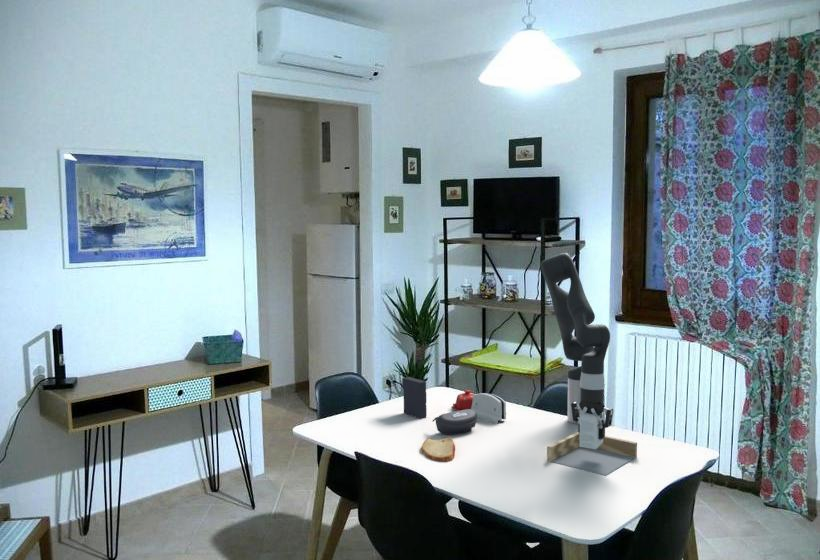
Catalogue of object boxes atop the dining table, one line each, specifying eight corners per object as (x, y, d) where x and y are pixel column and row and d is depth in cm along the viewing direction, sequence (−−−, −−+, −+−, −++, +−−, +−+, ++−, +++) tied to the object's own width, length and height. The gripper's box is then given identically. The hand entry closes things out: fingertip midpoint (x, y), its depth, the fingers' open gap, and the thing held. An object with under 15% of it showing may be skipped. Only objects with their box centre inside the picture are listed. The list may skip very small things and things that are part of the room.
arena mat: (582, 446, 239) (582, 445, 239) (634, 458, 226) (634, 457, 226) (551, 462, 223) (551, 461, 223) (605, 476, 210) (605, 475, 210)
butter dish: (483, 413, 283) (483, 392, 282) (455, 414, 282) (455, 393, 281) (478, 405, 294) (478, 386, 293) (452, 406, 293) (451, 387, 293)
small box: (586, 440, 228) (587, 409, 227) (603, 443, 225) (604, 411, 224) (578, 446, 222) (579, 414, 221) (595, 449, 219) (596, 417, 218)
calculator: (427, 417, 275) (427, 381, 274) (419, 419, 273) (419, 382, 272) (410, 412, 284) (410, 376, 283) (402, 414, 281) (402, 377, 280)
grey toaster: (468, 414, 280) (470, 390, 279) (476, 414, 282) (478, 389, 282) (497, 424, 266) (499, 398, 266) (506, 423, 269) (508, 397, 269)
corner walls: (580, 444, 241) (580, 430, 240) (636, 457, 227) (637, 442, 227) (546, 461, 224) (547, 446, 224) (605, 476, 210) (606, 460, 210)
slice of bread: (445, 466, 222) (445, 454, 221) (404, 454, 234) (404, 443, 233) (478, 452, 235) (478, 441, 235) (437, 441, 247) (437, 431, 247)
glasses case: (445, 440, 247) (445, 418, 247) (428, 432, 256) (428, 412, 255) (483, 431, 257) (483, 410, 257) (465, 424, 266) (465, 404, 266)
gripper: (566, 384, 224) (565, 435, 225) (607, 391, 214) (607, 444, 216) (577, 380, 229) (577, 430, 231) (618, 387, 220) (617, 438, 221)
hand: (591, 436), depth 223 cm, fingers closed on small box, 6 cm apart
